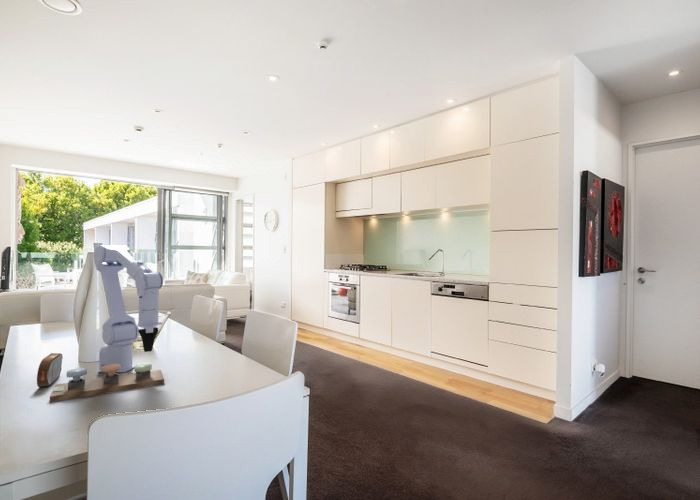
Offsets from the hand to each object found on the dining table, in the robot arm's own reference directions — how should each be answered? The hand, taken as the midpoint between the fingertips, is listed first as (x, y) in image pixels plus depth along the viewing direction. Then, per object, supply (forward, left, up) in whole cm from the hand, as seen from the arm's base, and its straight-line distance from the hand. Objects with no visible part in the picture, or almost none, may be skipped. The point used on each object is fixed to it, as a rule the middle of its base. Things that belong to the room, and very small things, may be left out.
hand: (147, 351), depth 122 cm
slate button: (-14, -13, -5) cm, 20 cm away
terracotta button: (-6, -8, -5) cm, 12 cm away
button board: (-6, -8, -9) cm, 14 cm away
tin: (-28, -5, -9) cm, 30 cm away
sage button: (+1, -4, -7) cm, 8 cm away
